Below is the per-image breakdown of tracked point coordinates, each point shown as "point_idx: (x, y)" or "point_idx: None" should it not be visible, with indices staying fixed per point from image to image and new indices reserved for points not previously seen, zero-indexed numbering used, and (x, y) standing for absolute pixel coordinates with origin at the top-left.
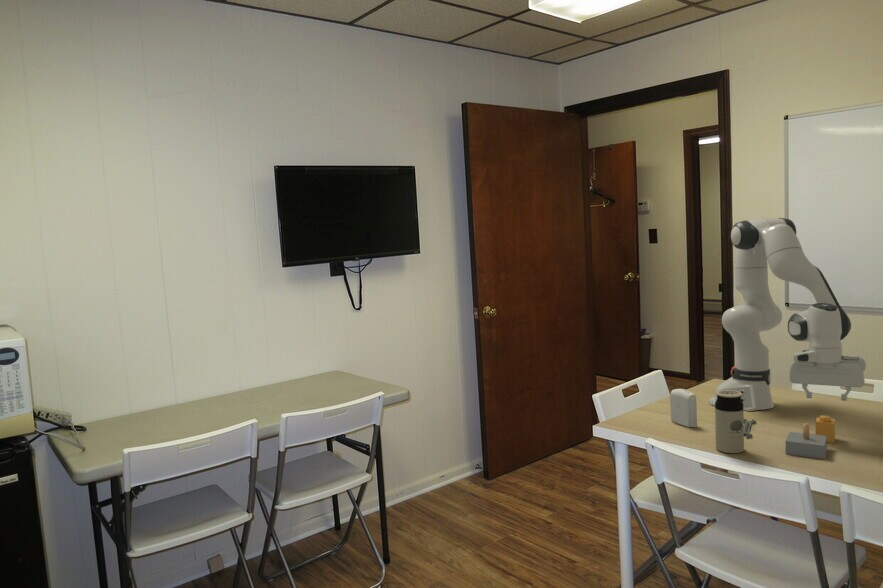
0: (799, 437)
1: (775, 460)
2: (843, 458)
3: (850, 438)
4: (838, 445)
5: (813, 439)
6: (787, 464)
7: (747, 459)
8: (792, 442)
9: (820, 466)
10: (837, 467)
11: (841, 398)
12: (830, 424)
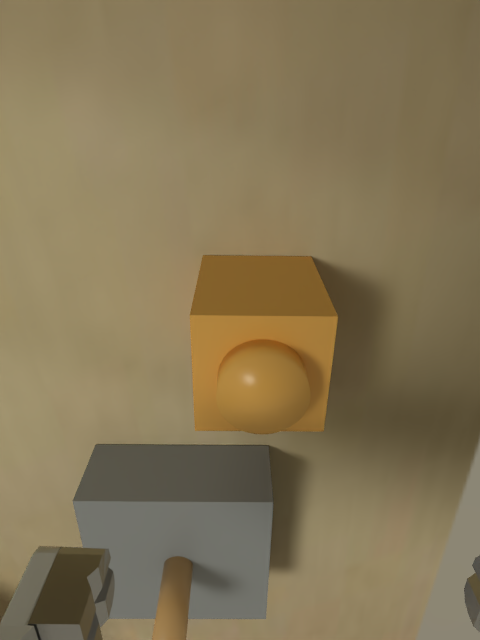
0: (144, 564)
1: None
2: (334, 527)
3: (405, 214)
4: None
5: (212, 568)
6: (148, 630)
7: None
8: (130, 615)
9: None
10: (308, 605)
11: (476, 626)
12: (297, 424)
